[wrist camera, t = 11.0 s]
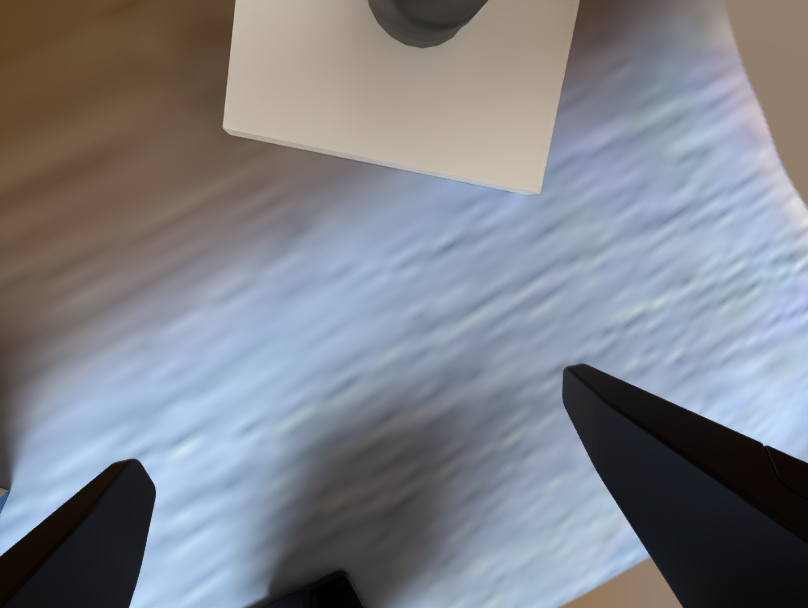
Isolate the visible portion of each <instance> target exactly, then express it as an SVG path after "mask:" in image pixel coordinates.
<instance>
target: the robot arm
mask: <svg viewBox="0 0 808 608" xmlns="http://www.w3.org/2000/svg"><path fill="white" fill-rule="evenodd" d="M562 398H563V403H564V406H565V409H566V411H567V413H568V415H569V417H570V419H571V421H572V423H573V425H574V427H575V429H576V431H577V433H578V435H579V437H580V439H581V441H582V443H583V445H584V447H585V449H586V451H587V453H588V455H589V457H590V460H591V461H592V463H593V465H594V467H595V469H596V471H597V473H598V474H599V476H600V478H601V479H602V481H603V482H604V484H605V486H606V487H607V489H608V490H609V492H610V493H611V495H612V497H613V498H614V500H615V501H616V503H617V504H618V506H619V508H620V509H621V511H622V512H623V514H624V516H625V517H626V519H627V520H628V522H629V523H630V525H631V527H632V528H633V530H634V531H635V533H636V534H637V536H638V538H639V539H640V541H641V542H642V544H643V545H644V547H645V549H646V550H647V552H648V553H649V555H650V556H651V558H652V559H653V561H654V563H655V564H656V566H657V567H658V569H659V571H660V572H661V574H662V575H663V577H664V578H665V580H666V582H667V583H668V585H669V586H670V588H671V589H672V591H673V593H674V594H675V595H676V597H677V599H678V600H679V602H680V604H681V605H682V607H683V608H808V463H807V462H804V461H802V460H800V459H797V458H795V457H793V456H790V455H788V454H786V453H784V452H781V451H779V450H777V449H775V448H772V447H770V446H768V445H766V446H764V445H763V444H762V443H761V442H759V441H756V440H754V439H752V438H750V437H748V436H745V435H743V434H741V433H739V432H736V431H734V430H732V429H730V428H727V427H725V426H723V425H721V424H718V423H716V422H714V421H712V420H710V419H707V418H705V417H703V416H701V415H698V414H696V413H694V412H692V411H689V410H687V409H685V408H683V407H680V406H678V405H676V404H674V403H672V402H669V401H667V400H665V399H663V398H660V397H658V396H656V395H654V394H651V393H649V392H647V391H645V390H642V389H640V388H638V387H636V386H634V385H631V384H629V383H627V382H625V381H622V380H620V379H618V378H616V377H613V376H611V375H609V374H607V373H604V372H602V371H600V370H598V369H596V368H593V367H591V366H589V365H586V364H583V363H581V364H576V365H571V366H567V367H565V368H564V370H563V389H562ZM155 498H156V489H155V485H154V483H153V481H152V480H151V478H150V477H149V475H148V473H147V472H146V470H145V469H144V467H143V465H142V464H141V462H140V461H139V460H137V459H127V460H123V461H118V462H115V463H113V464H111V465H110V466H109V467H108V468H106V469H105V470H104V471H103V472H102V473H100V474H99V475H98V476H97V477H96V478H94V479H93V480H92V481H91V482H89V483H88V484H87V485H86V486H85V487H83V488H82V489H81V490H80V491H79V492H77V493H76V494H75V495H74V496H73V497H71V498H70V499H69V500H68V501H67V502H65V503H64V504H63V505H62V506H61V507H59V508H58V509H57V510H56V511H55V512H53V513H52V514H51V515H50V516H49V517H47V518H46V519H45V520H44V521H42V522H41V523H40V524H39V525H38V526H36V527H35V528H34V529H33V530H32V531H30V532H29V533H28V534H27V535H26V536H24V537H23V538H22V539H21V540H20V541H18V542H17V543H16V544H15V545H14V546H12V547H11V548H10V549H9V550H8V551H6V552H5V553H4V554H3V555H2V556H0V608H129V606H130V603H131V600H132V597H133V593H134V590H135V587H136V584H137V580H138V577H139V573H140V569H141V565H142V561H143V556H144V551H145V546H146V542H147V537H148V532H149V527H150V522H151V517H152V513H153V508H154V503H155ZM338 581H343V582H342V583H337V582H338ZM264 608H366V606H365V604H364V602H363V600H362V598H361V597H360V595H359V593H358V591H357V589H356V587H355V585H354V583H353V582H352V580H351V578H350V576H349V574H348V573H347V572H346V571H341V570H340V571H336V572H334V573H332V574H330V575H328V576H326V577H324V578H322V579H320V580H318V581H316V582H314V583H312V584H310V585H308V586H306V587H304V588H302V589H300V590H298V591H296V592H294V593H292V594H290V595H288V596H286V597H284V598H282V599H280V600H278V601H276V602H274V603H272V604H270V605H268V606H266V607H264Z"/></svg>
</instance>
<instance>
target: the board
mask: <svg viewBox="0 0 808 608" xmlns="http://www.w3.org/2000/svg"><path fill="white" fill-rule="evenodd" d="M579 2H580V0H488V1H487V2H486V4H485V5H484V6H483V7H482V8H481V9H480V10H479V11H478V13H477V14H476V15H475V16H474V17H473V18H472V19H471V20H470V22H469V23H468V24H467V25H465V26H463V27H462V28H461V29H460V30H459V31H458V32H457V33H456V35H455V36H454V37H453V38H451V39H449V40H448V41H446V42H444V43H442V44H441V45H439V46H433V47H428V48H418V47H413V46H407V45H405V44H403V43H401V42H399V41H398V40H396V39H394V38H392V37H391V36H390V35H389V34H388V33H387V32H386V31H385V30H384V29H383V28H382V27H381V26H380V25H379V24H378V22H377V21H376V19H375V17H374V15H373V13H372V11H371V9H370V7H369V3H368V0H236V4H235V13H234V23H233V33H232V42H231V52H230V62H229V72H228V81H227V91H226V101H225V110H224V120H223V129H224V130H225V131H226V132H227V133H228V134H229V135H234V136H239V137H244V138H249V139H254V140H259V141H264V142H269V143H274V144H278V145H283V146H288V147H293V148H298V149H303V150H308V151H313V152H318V153H323V154H328V155H333V156H338V157H342V158H347V159H352V160H357V161H362V162H367V163H372V164H377V165H382V166H387V167H392V168H397V169H401V170H406V171H411V172H416V173H421V174H426V175H431V176H436V177H441V178H446V179H451V180H456V181H461V182H465V183H470V184H475V185H480V186H485V187H490V188H495V189H500V190H505V191H510V192H515V193H520V194H525V195H533V194H539V193H540V192H541V187H542V182H543V177H544V172H545V167H546V163H547V158H548V153H549V148H550V143H551V138H552V133H553V129H554V124H555V119H556V114H557V109H558V104H559V99H560V94H561V90H562V85H563V80H564V75H565V70H566V65H567V60H568V56H569V51H570V46H571V41H572V36H573V31H574V26H575V21H576V17H577V12H578V7H579Z"/></svg>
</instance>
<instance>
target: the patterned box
mask: <svg viewBox="0 0 808 608" xmlns="http://www.w3.org/2000/svg"><path fill="white" fill-rule="evenodd" d="M8 492H9V491H8V490H5V489H2V488H0V512H1V510H2V507H3V505H4V502H5V500H6V498H7V496H8Z"/></svg>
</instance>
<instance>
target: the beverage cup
mask: <svg viewBox="0 0 808 608" xmlns="http://www.w3.org/2000/svg"><path fill="white" fill-rule="evenodd" d="M487 1H488V0H368V3H369V7H370V9H371V11H372V13H373V15H374V17H375V19H376V21H377V22H378V24H379V25H380V26H381V27H382V28H383V29H384V30H385V31H386V32H387V33H388V34H389V35H390V36H391V37H392V38H394V39H396V40H398V41H399V42H401V43H403V44H405V45H407V46H413V47H418V48H428V47H433V46H439V45H441V44H442V43H444V42H446V41H448V40H449V39H451V38H453V37H454V36H455V35H456V33H457V32H458V31H459V30H460V29H461V28H462V27H463V26H465V25H467V24H468V23H469V22H470V20H471V19H472V18H473V17H474V16H475V15H476V14H477V13H478V11H479V10H480V9H481V8H482V7H483V6H484V5H485V4H486V2H487Z"/></svg>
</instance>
